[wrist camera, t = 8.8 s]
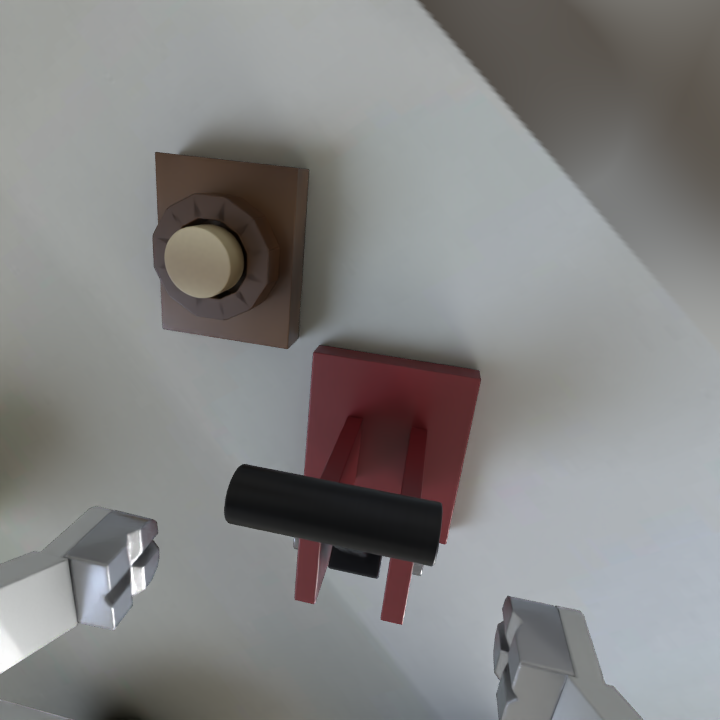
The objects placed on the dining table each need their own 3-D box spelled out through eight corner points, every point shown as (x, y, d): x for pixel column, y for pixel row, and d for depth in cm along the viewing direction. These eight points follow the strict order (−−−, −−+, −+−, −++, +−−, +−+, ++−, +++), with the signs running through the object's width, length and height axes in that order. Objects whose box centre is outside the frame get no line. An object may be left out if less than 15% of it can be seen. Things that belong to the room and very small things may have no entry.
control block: (176, 154, 28) (134, 149, 24) (309, 169, 27) (286, 166, 23) (180, 319, 31) (144, 337, 28) (298, 338, 30) (277, 359, 27)
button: (180, 219, 25) (162, 222, 24) (245, 228, 25) (231, 231, 23) (182, 286, 27) (165, 293, 25) (244, 296, 26) (230, 303, 25)
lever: (242, 438, 12) (211, 541, 11) (447, 476, 11) (433, 589, 10) (317, 513, 25) (306, 563, 24) (414, 533, 24) (407, 585, 23)
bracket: (319, 344, 30) (245, 432, 19) (479, 369, 29) (497, 479, 18) (306, 501, 34) (240, 647, 24) (446, 530, 33) (444, 698, 22)
